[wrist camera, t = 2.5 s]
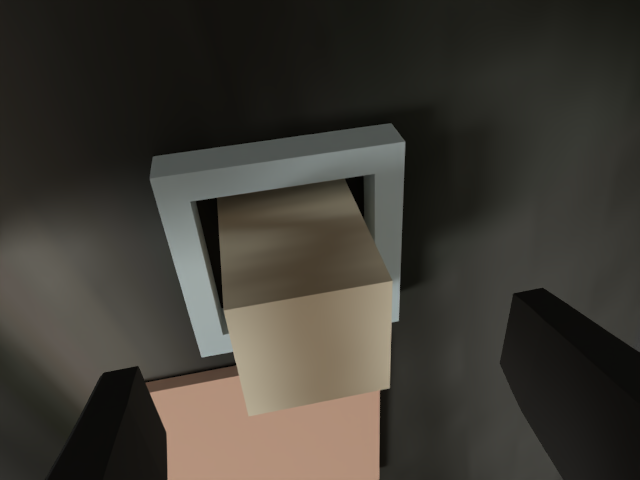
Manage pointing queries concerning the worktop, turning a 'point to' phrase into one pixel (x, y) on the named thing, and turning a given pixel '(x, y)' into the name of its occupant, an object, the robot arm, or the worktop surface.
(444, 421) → the worktop surface
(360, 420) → the mat
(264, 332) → the birch block
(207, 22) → the worktop surface
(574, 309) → the robot arm
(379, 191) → the holder
